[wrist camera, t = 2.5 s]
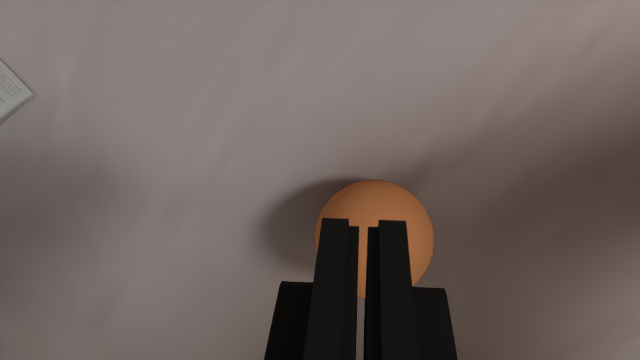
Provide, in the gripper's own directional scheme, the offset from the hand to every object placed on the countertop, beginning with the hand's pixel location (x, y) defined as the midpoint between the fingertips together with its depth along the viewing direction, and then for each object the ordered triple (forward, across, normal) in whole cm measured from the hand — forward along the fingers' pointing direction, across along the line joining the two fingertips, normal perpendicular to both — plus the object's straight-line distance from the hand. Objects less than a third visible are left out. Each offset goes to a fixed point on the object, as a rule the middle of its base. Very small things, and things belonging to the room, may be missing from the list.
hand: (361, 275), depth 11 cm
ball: (+13, -1, +9) cm, 16 cm away
